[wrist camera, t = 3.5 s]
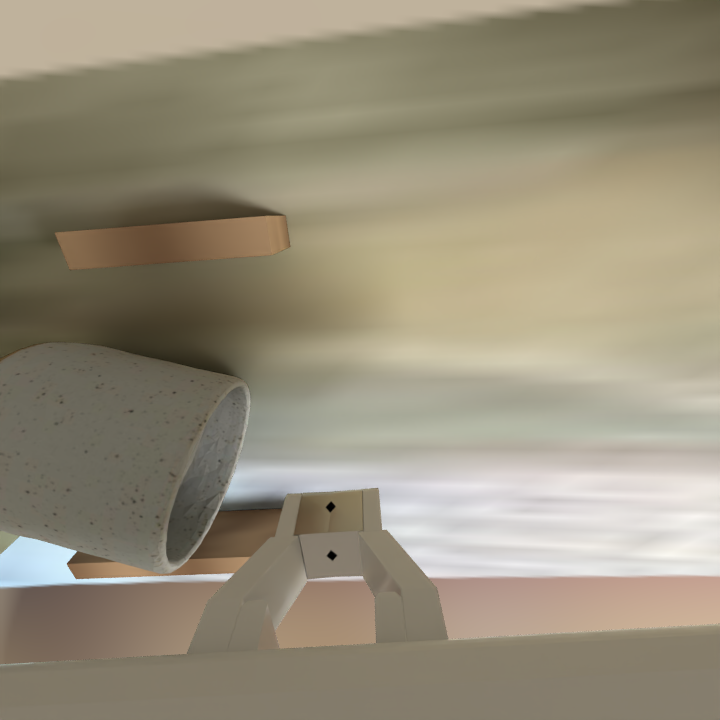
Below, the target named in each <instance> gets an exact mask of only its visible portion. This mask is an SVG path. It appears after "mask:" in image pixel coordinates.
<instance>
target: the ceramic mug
mask: <svg viewBox="0 0 720 720" xmlns="http://www.w3.org/2000/svg"><path fill="white" fill-rule="evenodd" d="M250 400H251V399H250V392H249V388H248V385H247V383H246V382H245V381H243V380H242V379H240V378H237V377H234V376H229V375H225V374H220V373H216V372H211V371H206V370H201V369H197V368H192V367H188V366H184V365H181V364H177V363H172V362H168V361H164V360H159V359H154V358H150V357H145V356H140V355H136V354H132V353H128V352H124V351H121V350H117V349H113V348H109V347H104V346H100V345H92V344H84V343H66V342H49V343H41V344H35V345H31V346H28V347H25V348H22V349H20V350H17V351H15V352H13V353H11V354H9V355H7V356H4V357H2V358H0V530H1V531H4V532H7V533H10V534H14V535H18V536H23V537H28V538H33V539H38V540H41V541H45V542H48V543H52V544H55V545H59V546H62V547H66V548H69V549H72V550H76V551H79V552H83V553H86V554H90V555H94V556H98V557H102V558H105V559H109V560H112V561H115V562H119V563H122V564H126V565H129V566H133V567H137V568H140V569H144V570H148V571H152V572H156V573H160V574H166V573H172V572H173V571H175V570H177V569H178V568H180V567H181V566H182V565H183V564H184V563H186V562H187V561H188V559H189V558H190V557H191V555H192V554H193V553H194V552H195V551H196V549H197V548H198V547H199V546H200V544H201V542H202V540H203V539H204V537H205V535H206V534H207V532H208V531H209V529H210V527H211V525H212V523H213V521H214V519H215V517H216V515H217V513H218V511H219V508H220V506H221V504H222V501H223V499H224V497H225V494H226V492H227V490H228V488H229V485H230V482H231V479H232V477H233V474H234V472H235V469H236V465H237V463H238V460H239V457H240V454H241V451H242V448H243V442H244V437H245V433H246V430H247V426H248V421H249V412H250Z"/></svg>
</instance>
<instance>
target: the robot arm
mask: <svg viewBox="0 0 720 720" xmlns="http://www.w3.org/2000/svg"><path fill="white" fill-rule="evenodd" d="M341 576H363V578H364V580H365V581H366V583H367V585H368V586H369V588H370V590H371V591H372V593H373V595H374V596H375V624H376V625H375V626H376V643H374V644H357V645H340V646H322V647H304V648H286V649H280V648H279V644H278V641H277V637H276V633H275V630H276V629H277V627H278V626H279V624H280V622H281V621H282V620H283V618H284V617H285V615H286V613H287V612H288V610H289V609H290V607H291V606H292V604H293V602H294V601H295V599H296V598H297V596H298V595H299V593H300V592H301V590H302V588H303V587H304V586H305V584H306V582H307V579H315V578H326V577H341ZM0 720H720V624H708V625H691V626H673V627H657V628H637V629H621V630H602V631H584V632H567V633H550V634H531V635H514V636H498V637H497V636H496V637H478V638H462V639H461V638H460V639H448V636H447V631H446V627H445V622H444V618H443V613H442V608H441V604H440V600H439V595H438V590H437V587H436V586H435V585H434V584H433V583H432V582H431V581H430V579H429V578H428V577H427V576H426V575H425V574H424V572H423V571H422V570H421V569H420V568H419V567H418V565H417V564H416V563H415V562H414V561H413V560H412V559H411V557H410V556H409V555H408V554H407V553H406V552H405V550H404V549H403V548H402V547H401V546H400V545H399V543H398V542H397V541H396V540H395V539H394V538H393V537H392V535H391V534H390V533H389V532H388V531H387V530H382V523H381V511H380V499H379V489H378V488H371V489H360V490H347V491H334V492H314V493H300V494H287V496H286V497H285V500H284V504H283V508H282V511H281V515H280V519H279V523H278V527H277V531H276V534H275V537H270V538H269V539H268V540H267V541H266V542H265V543H264V544H263V545H262V546H261V547H260V548H259V549H258V550H257V551H256V552H255V553H254V554H253V555H252V556H251V557H250V558H249V559H248V560H247V561H246V562H245V564H244V565H243V566H242V567H241V568H240V569H239V570H238V571H237V572H236V573H235V574H234V575H233V576H232V577H231V578H230V579H229V580H228V581H227V582H226V583H225V584H224V585H223V586H222V587H221V588H220V589H219V590H218V591H217V592H216V593H215V594H214V595H213V596H212V597H211V598H210V599H209V600H208V602H207V604H206V607H205V609H204V612H203V614H202V617H201V619H200V622H199V624H198V627H197V629H196V632H195V634H194V637H193V639H192V642H191V644H190V647H189V649H188V652H187V654H181V655H180V654H179V655H161V656H143V657H127V658H108V659H91V660H73V661H56V662H37V663H19V664H2V665H0Z"/></svg>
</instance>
